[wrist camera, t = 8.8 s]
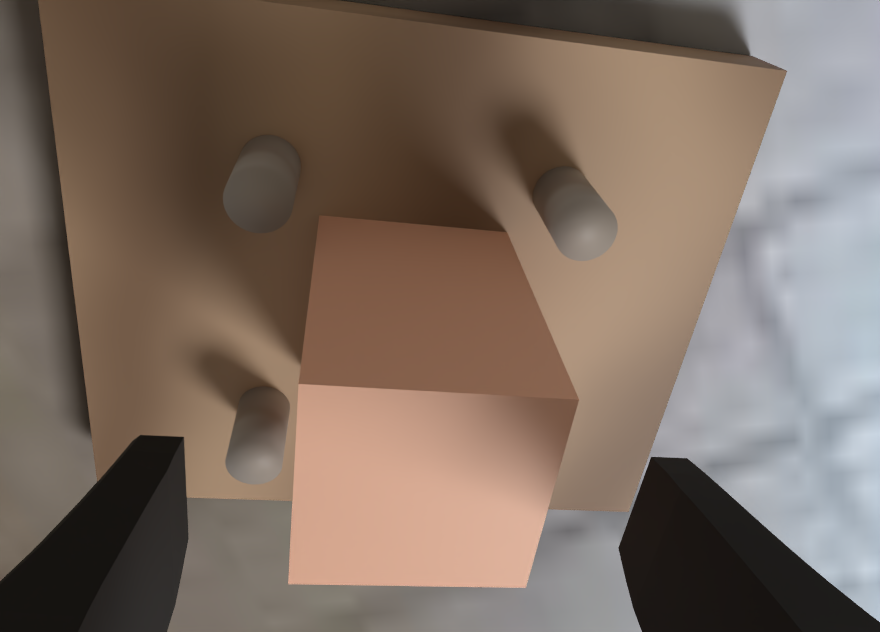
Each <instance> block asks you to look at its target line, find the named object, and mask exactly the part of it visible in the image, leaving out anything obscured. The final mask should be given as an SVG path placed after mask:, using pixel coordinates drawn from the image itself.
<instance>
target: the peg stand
mask: <svg viewBox="0 0 880 632" xmlns="http://www.w3.org/2000/svg"><path fill="white" fill-rule="evenodd" d="M38 5H39V13H40V21H41V29H42V37H43V45H44V53H45V61H46V70H47V78H48V86H49V94H50V102H51V110H52V118H53V126H54V135H55V143H56V151H57V159H58V167H59V175H60V183H61V191H62V200H63V208H64V216H65V224H66V232H67V240H68V248H69V256H70V265H71V273H72V281H73V289H74V297H75V305H76V313H77V321H78V330H79V338H80V346H81V354H82V362H83V370H84V378H85V386H86V395H87V403H88V411H89V419H90V427H91V435H92V443H93V451H94V460H95V468H96V476H97V482H98V481H99V480H100V478H101V477H102V476H103V475H104V474H105V473H106V472H107V470H108V469H109V468H110V467H111V466H112V465H113V463H114V462H115V461H116V460H117V459H118V458H119V456H120V455H121V454H122V453H123V452H124V450H125V449H126V448H127V447H128V446H129V444H130V443H131V442H132V441H133V440H134V439H136V438H137V437H138V436H140V435H154V436H177V437H184V448H185V471H186V494H187V497H190V498H221V499H251V500H282V501H293V482H294V462H295V443H296V423H297V403H298V384H299V376H300V368H301V360H302V351H303V343H304V335H305V327H306V319H307V311H308V303H309V295H310V287H311V279H312V270H313V262H314V254H315V246H316V238H317V230H318V222H319V215H322V216H333V217H344V218H355V219H366V220H377V221H388V222H399V223H410V224H421V225H432V226H443V227H455V228H466V229H477V230H488V231H499V232H507V233H508V235H509V238H510V240H511V242H512V245H513V247H514V249H515V252H516V254H517V256H518V259H519V261H520V263H521V266H522V268H523V270H524V273H525V275H526V277H527V280H528V282H529V284H530V287H531V289H532V291H533V293H534V296H535V298H536V300H537V303H538V305H539V307H540V310H541V312H542V314H543V317H544V319H545V321H546V324H547V326H548V328H549V331H550V333H551V335H552V338H553V340H554V342H555V345H556V347H557V349H558V352H559V354H560V356H561V359H562V361H563V363H564V366H565V368H566V370H567V373H568V375H569V377H570V380H571V382H572V384H573V386H574V389H575V391H576V393H577V396H578V398H579V402H578V406H577V409H576V413H575V416H574V420H573V423H572V427H571V430H570V434H569V437H568V441H567V444H566V448H565V451H564V455H563V458H562V462H561V465H560V469H559V472H558V476H557V479H556V483H555V486H554V490H553V493H552V497H551V501H550V504H549V508H548V509H557V510H587V511H618V512H629V509H630V506H631V504H632V501H633V498H634V495H635V492H636V490H637V487H638V484H639V481H640V479H641V476H642V473H643V470H644V467H645V465H646V462H647V459H648V456H649V454H650V451H651V448H652V445H653V442H654V440H655V437H656V434H657V431H658V428H659V426H660V423H661V420H662V417H663V415H664V412H665V409H666V406H667V403H668V401H669V398H670V395H671V392H672V390H673V387H674V384H675V381H676V378H677V376H678V373H679V370H680V367H681V365H682V362H683V359H684V356H685V353H686V351H687V348H688V345H689V342H690V339H691V337H692V334H693V331H694V328H695V326H696V323H697V320H698V317H699V314H700V312H701V309H702V306H703V303H704V301H705V298H706V295H707V292H708V289H709V287H710V284H711V281H712V278H713V276H714V273H715V270H716V267H717V264H718V262H719V259H720V256H721V253H722V250H723V248H724V245H725V242H726V239H727V237H728V234H729V231H730V228H731V225H732V223H733V220H734V217H735V214H736V212H737V209H738V206H739V203H740V200H741V198H742V195H743V192H744V189H745V187H746V184H747V181H748V178H749V175H750V173H751V170H752V167H753V164H754V161H755V159H756V156H757V153H758V150H759V148H760V145H761V142H762V139H763V136H764V134H765V131H766V128H767V125H768V123H769V120H770V117H771V114H772V111H773V109H774V106H775V103H776V100H777V98H778V95H779V92H780V89H781V86H782V84H783V81H784V78H785V75H786V72H787V71H786V70H784V69H781V68H779V67H777V66H774V65H772V64H769V63H767V62H765V61H762V60H760V59H758V58H755V57H753V56H747V55H740V54H733V53H725V52H718V51H710V50H703V49H696V48H688V47H681V46H673V45H666V44H659V43H651V42H644V41H636V40H629V39H622V38H614V37H607V36H600V35H592V34H585V33H577V32H570V31H563V30H555V29H548V28H540V27H533V26H526V25H518V24H511V23H503V22H496V21H489V20H481V19H474V18H467V17H459V16H452V15H444V14H437V13H430V12H422V11H415V10H407V9H400V8H393V7H385V6H378V5H370V4H363V3H356V2H348V1H341V0H38Z"/></svg>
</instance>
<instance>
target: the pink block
mask: <svg viewBox="0 0 880 632" xmlns="http://www.w3.org/2000/svg"><path fill="white" fill-rule="evenodd" d="M578 402H579V398H578V396H577V393H576V391H575V389H574V386H573V384H572V382H571V380H570V377H569V375H568V373H567V370H566V368H565V366H564V363H563V361H562V359H561V356H560V354H559V352H558V349H557V347H556V345H555V342H554V340H553V338H552V335H551V333H550V331H549V328H548V326H547V324H546V321H545V319H544V317H543V314H542V312H541V310H540V307H539V305H538V303H537V300H536V298H535V296H534V293H533V291H532V289H531V287H530V284H529V282H528V280H527V277H526V275H525V273H524V270H523V268H522V266H521V263H520V261H519V259H518V256H517V254H516V252H515V249H514V247H513V245H512V242H511V240H510V238H509V235H508V233H507V232H499V231H488V230H477V229H466V228H455V227H443V226H432V225H421V224H410V223H399V222H388V221H377V220H366V219H355V218H344V217H333V216H322V215H319V222H318V230H317V238H316V246H315V254H314V262H313V270H312V279H311V287H310V295H309V303H308V311H307V319H306V327H305V335H304V343H303V351H302V360H301V368H300V376H299V384H298V403H297V423H296V443H295V462H294V482H293V502H292V521H291V541H290V561H289V580H288V584H317V585H382V586H447V587H511V588H526V585H527V581H528V578H529V574H530V571H531V567H532V564H533V560H534V557H535V553H536V550H537V546H538V543H539V539H540V536H541V532H542V529H543V525H544V522H545V518H546V515H547V511H548V508H549V504H550V501H551V497H552V493H553V490H554V486H555V483H556V479H557V476H558V472H559V469H560V465H561V462H562V458H563V455H564V451H565V448H566V444H567V441H568V437H569V434H570V430H571V427H572V423H573V420H574V416H575V413H576V409H577V406H578Z"/></svg>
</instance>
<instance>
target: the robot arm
mask: <svg viewBox="0 0 880 632" xmlns="http://www.w3.org/2000/svg"><path fill="white" fill-rule="evenodd" d="M187 543H188V518H187V494H186V471H185V448H184V437H177V436H154V435H140V436H138V437H137V438H136V439H134V440H133V441H132V442H131V443H130V444H129V446H128V447H127V448H126V449H125V450H124V452H123V453H122V454H121V455H120V456H119V458H118V459H117V460H116V461H115V462H114V463H113V465H112V466H111V467H110V468H109V469H108V470H107V472H106V473H105V474H104V475H103V476H102V477H101V478H100V480H99V481H98V482H97V483H96V484H95V485H94V486H93V487H92V489H91V490H90V491H89V492H88V493H87V494H86V495H85V496H84V497H83V498H82V500H81V501H80V502H79V503H78V504H77V505H76V506H75V507H74V508H73V509H72V510H71V511H70V512H69V513H68V514H67V516H66V517H65V518H64V519H63V520H62V521H61V522H60V523H59V524H58V525H57V526H56V527H55V528H54V529H53V530H52V531H51V532H50V533H49V534H48V535H47V536H46V537H45V539H44V540H43V541H42V542H41V543H40V544H39V545H38V546H37V547H36V548H35V549H34V550H33V551H32V552H31V553H30V554H29V555H27V556H26V557H25V558H24V559H23V560H22V561H21V562H20V563H19V564H18V565H17V566H16V567H15V568H14V569H13V570H12V571H11V572H10V573H9V574H7V575H6V576H5V577H4V578H3V579H2V580H1V581H0V632H167V629H168V626H169V623H170V620H171V616H172V613H173V610H174V607H175V603H176V598H177V593H178V588H179V584H180V579H181V574H182V569H183V564H184V558H185V553H186V548H187ZM619 552H620V556H621V561H622V565H623V569H624V574H625V578H626V582H627V586H628V590H629V593H630V597H631V601H632V605H633V608H634V611H635V614H636V617H637V619H638V622H639V625H640V627H641V630H642V632H880V622H879V621H877V620H876V619H875V618H873V617H872V616H871V615H869V614H868V613H867V612H866V611H864V610H863V609H862V608H861V607H859V606H858V605H857V604H856V603H854V602H853V601H852V600H851V599H849V598H848V597H847V596H846V595H844V594H843V593H842V592H841V591H839V590H838V589H837V588H836V587H834V586H833V585H832V584H831V583H829V582H828V581H827V580H826V579H825V578H823V577H822V576H821V575H820V574H819V573H817V572H816V571H815V570H814V569H813V568H811V567H810V566H809V565H808V564H807V563H806V562H804V561H803V560H802V559H801V558H800V557H799V556H797V555H796V554H795V553H794V552H793V551H792V550H790V549H789V548H788V547H787V546H786V545H785V544H784V543H783V542H781V541H780V540H779V539H778V538H777V537H776V536H775V535H773V534H772V533H771V532H770V531H769V530H768V529H767V528H766V527H764V526H763V525H762V524H761V523H760V522H759V521H758V520H757V519H756V518H754V517H753V516H752V515H751V514H750V513H749V512H748V511H747V510H746V509H744V508H743V507H742V506H741V505H740V504H739V503H738V502H737V501H736V500H734V499H733V498H732V497H731V496H730V495H729V494H728V493H727V492H726V491H724V490H723V489H722V488H721V487H720V486H719V485H718V484H717V483H715V482H714V481H713V480H712V479H711V478H710V477H709V476H708V475H706V474H705V473H704V472H703V471H702V470H701V469H699V468H698V467H697V466H696V465H694V464H693V463H692V462H691V461H690V460H688V459H687V458H664V457H651V459H650V462H649V465H648V468H647V470H646V473H645V476H644V479H643V482H642V484H641V487H640V490H639V493H638V495H637V498H636V501H635V504H634V507H633V509H632V512H631V515H630V518H629V520H628V523H627V526H626V529H625V532H624V534H623V537H622V540H621V543H620V545H619Z"/></svg>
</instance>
